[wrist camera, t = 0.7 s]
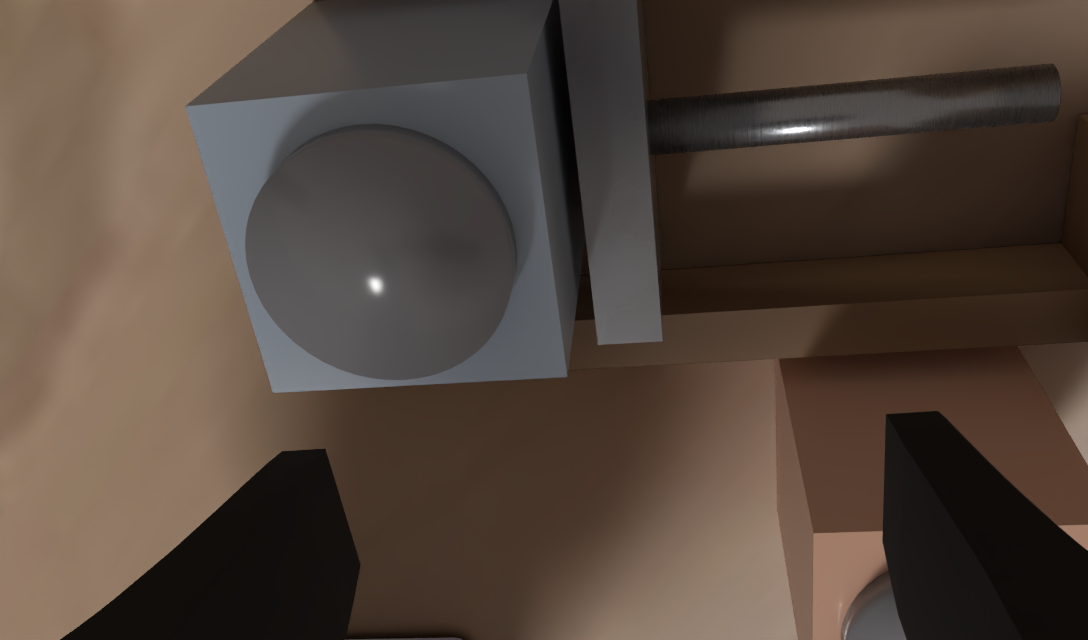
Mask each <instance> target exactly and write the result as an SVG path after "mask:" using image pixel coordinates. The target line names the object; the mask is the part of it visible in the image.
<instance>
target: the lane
mask: <svg viewBox="0 0 1088 640" xmlns="http://www.w3.org/2000/svg"><path fill="white" fill-rule="evenodd" d="M662 326H663V341H657V342H640V343H623V344H606V345H598V341H597V332H596V324H595V315H594V306H593V297H592V289H591V280H590V275H584V276H580V283H579V290H578V298H577V306H576V314H575V322H574V329H573V337H572V345H571V353H570V360H569V368H568V370H581V369H599V368H617V367H636V366H654V365H672V364H690V363H708V362H727V361H745V360H763V359H781V358H799V357H818V356H836V355H854V354H872V353H890V352H909V351H927V350H945V349H963V348H981V347H1000V346H1018V345H1036V344H1054V343H1072V342H1088V114H1080V115H1079V117H1078V124H1077V132H1076V139H1075V146H1074V153H1073V160H1072V167H1071V175H1070V182H1069V189H1068V196H1067V203H1066V210H1065V218H1064V225H1063V232H1062V239H1061V243H1055V244H1041V245H1026V246H1011V247H997V248H982V249H967V250H952V251H938V252H923V253H908V254H893V255H879V256H864V257H849V258H835V259H820V260H805V261H790V262H776V263H761V264H746V265H732V266H717V267H702V268H687V269H673V270H662Z"/></svg>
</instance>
